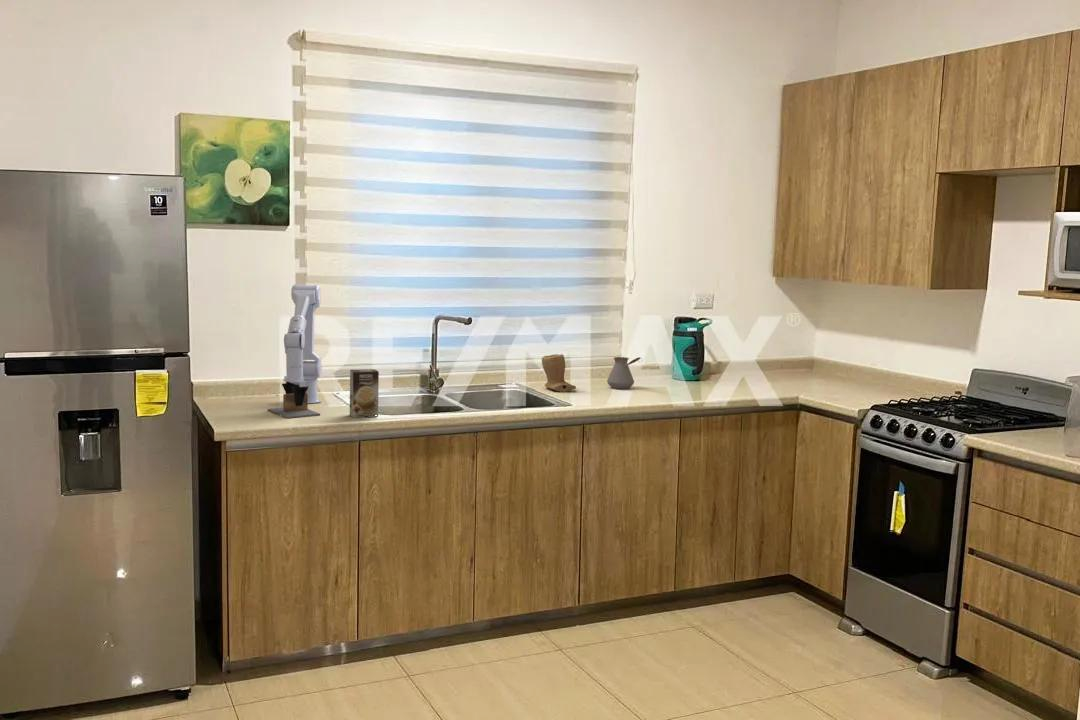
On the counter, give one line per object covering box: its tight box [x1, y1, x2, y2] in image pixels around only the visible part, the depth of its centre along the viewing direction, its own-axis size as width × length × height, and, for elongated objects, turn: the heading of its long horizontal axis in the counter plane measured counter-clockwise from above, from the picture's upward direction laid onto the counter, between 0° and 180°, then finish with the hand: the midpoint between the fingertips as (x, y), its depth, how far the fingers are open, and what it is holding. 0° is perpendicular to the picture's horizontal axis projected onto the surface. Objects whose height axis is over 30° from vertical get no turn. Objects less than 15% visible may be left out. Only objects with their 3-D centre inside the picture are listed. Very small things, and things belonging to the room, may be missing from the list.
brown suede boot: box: [541, 353, 577, 393], centre depth 416 cm, size 15×12×15 cm
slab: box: [282, 393, 309, 412], centre depth 355 cm, size 3×8×6 cm, turn 126°
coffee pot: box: [606, 356, 643, 390], centre depth 420 cm, size 21×12×15 cm, turn 25°
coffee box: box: [349, 368, 380, 418], centre depth 351 cm, size 9×6×16 cm
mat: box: [267, 407, 321, 419], centre depth 354 cm, size 18×12×1 cm, turn 36°
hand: (295, 404), depth 355 cm, fingers open, 6 cm apart
